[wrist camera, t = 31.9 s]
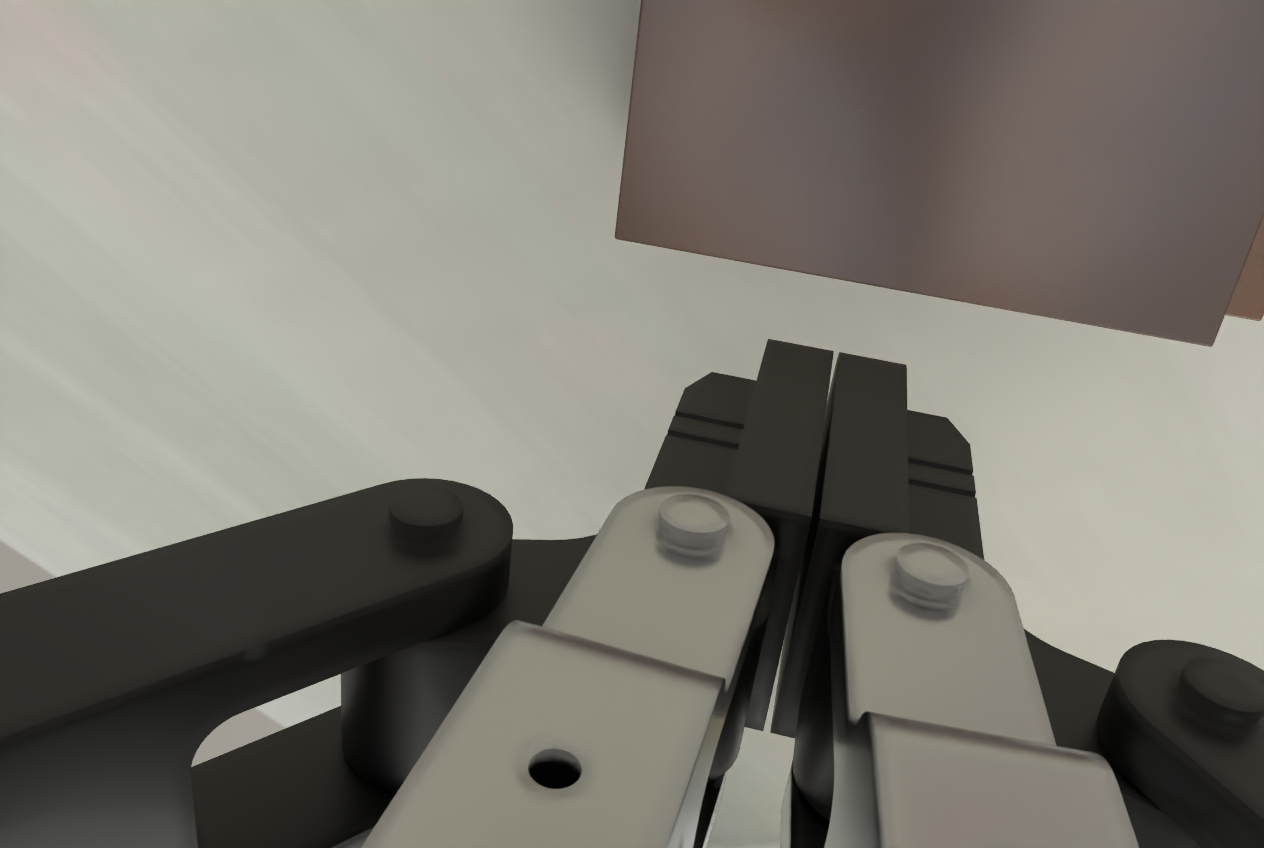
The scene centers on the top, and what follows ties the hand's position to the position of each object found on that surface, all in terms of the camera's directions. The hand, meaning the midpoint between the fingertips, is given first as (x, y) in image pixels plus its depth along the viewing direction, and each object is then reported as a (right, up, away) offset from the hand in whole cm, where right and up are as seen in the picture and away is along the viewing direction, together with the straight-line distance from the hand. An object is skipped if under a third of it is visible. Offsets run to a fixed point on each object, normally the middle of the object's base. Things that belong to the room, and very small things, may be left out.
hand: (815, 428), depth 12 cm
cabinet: (+7, +12, +21) cm, 25 cm away
